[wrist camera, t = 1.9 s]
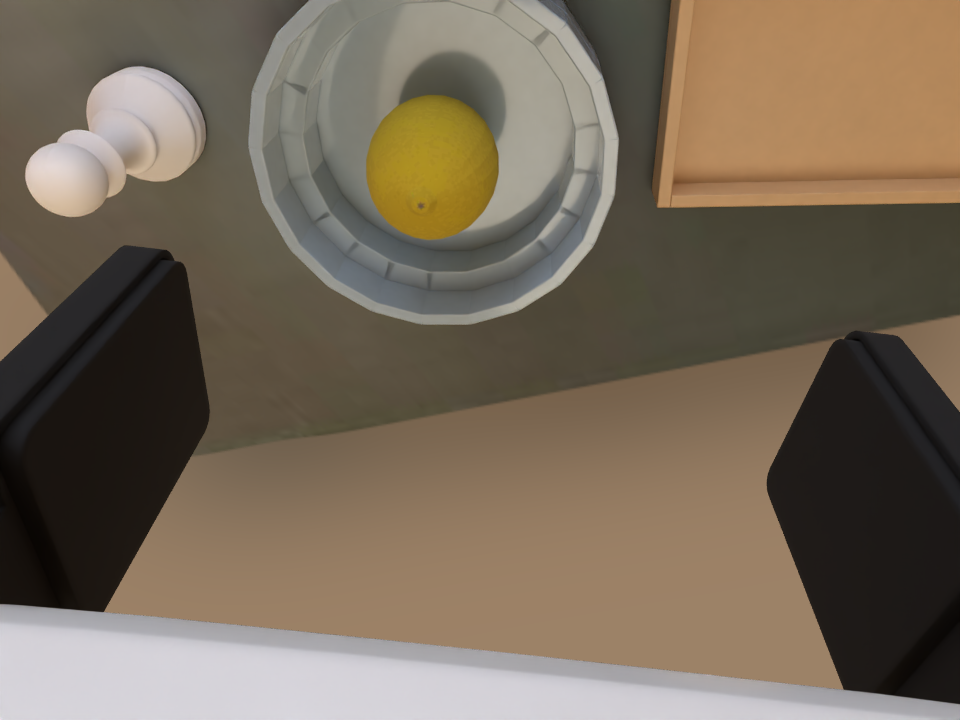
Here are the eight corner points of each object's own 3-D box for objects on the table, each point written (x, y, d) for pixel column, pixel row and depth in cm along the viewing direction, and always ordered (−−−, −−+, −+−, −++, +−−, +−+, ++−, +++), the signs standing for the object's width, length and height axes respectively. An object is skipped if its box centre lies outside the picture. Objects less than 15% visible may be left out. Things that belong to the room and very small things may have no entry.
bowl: (619, -63, 27) (632, -50, 23) (598, 272, 36) (606, 324, 32) (250, -45, 29) (203, -29, 25) (318, 275, 38) (292, 325, 34)
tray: (1138, -138, 25) (1180, -137, 23) (1003, 184, 32) (1028, 201, 30) (682, -112, 26) (692, -110, 25) (651, 191, 33) (656, 208, 32)
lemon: (437, 212, 34) (413, 294, 28) (361, 123, 32) (316, 190, 26) (526, 148, 32) (523, 220, 26) (452, 46, 30) (428, 99, 23)
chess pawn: (216, 173, 34) (130, 257, 27) (118, 166, 35) (7, 249, 27) (196, 68, 31) (94, 131, 24) (89, 61, 32) (-44, 122, 24)
